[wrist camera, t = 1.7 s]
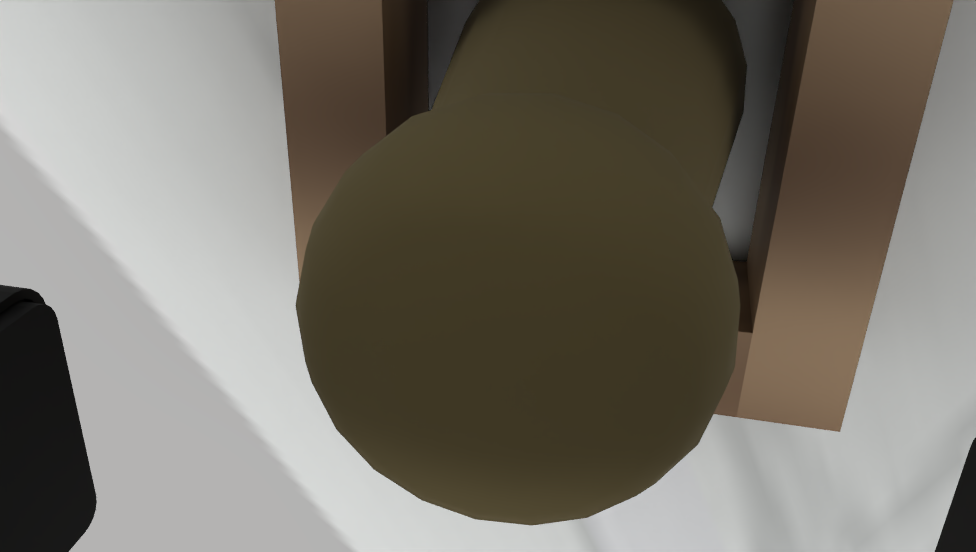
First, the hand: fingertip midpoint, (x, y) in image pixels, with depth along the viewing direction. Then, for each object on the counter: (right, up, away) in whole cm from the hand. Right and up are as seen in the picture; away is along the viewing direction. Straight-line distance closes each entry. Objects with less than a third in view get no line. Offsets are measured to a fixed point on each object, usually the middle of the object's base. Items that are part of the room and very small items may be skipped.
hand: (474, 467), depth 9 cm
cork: (+2, +6, +10) cm, 12 cm away
